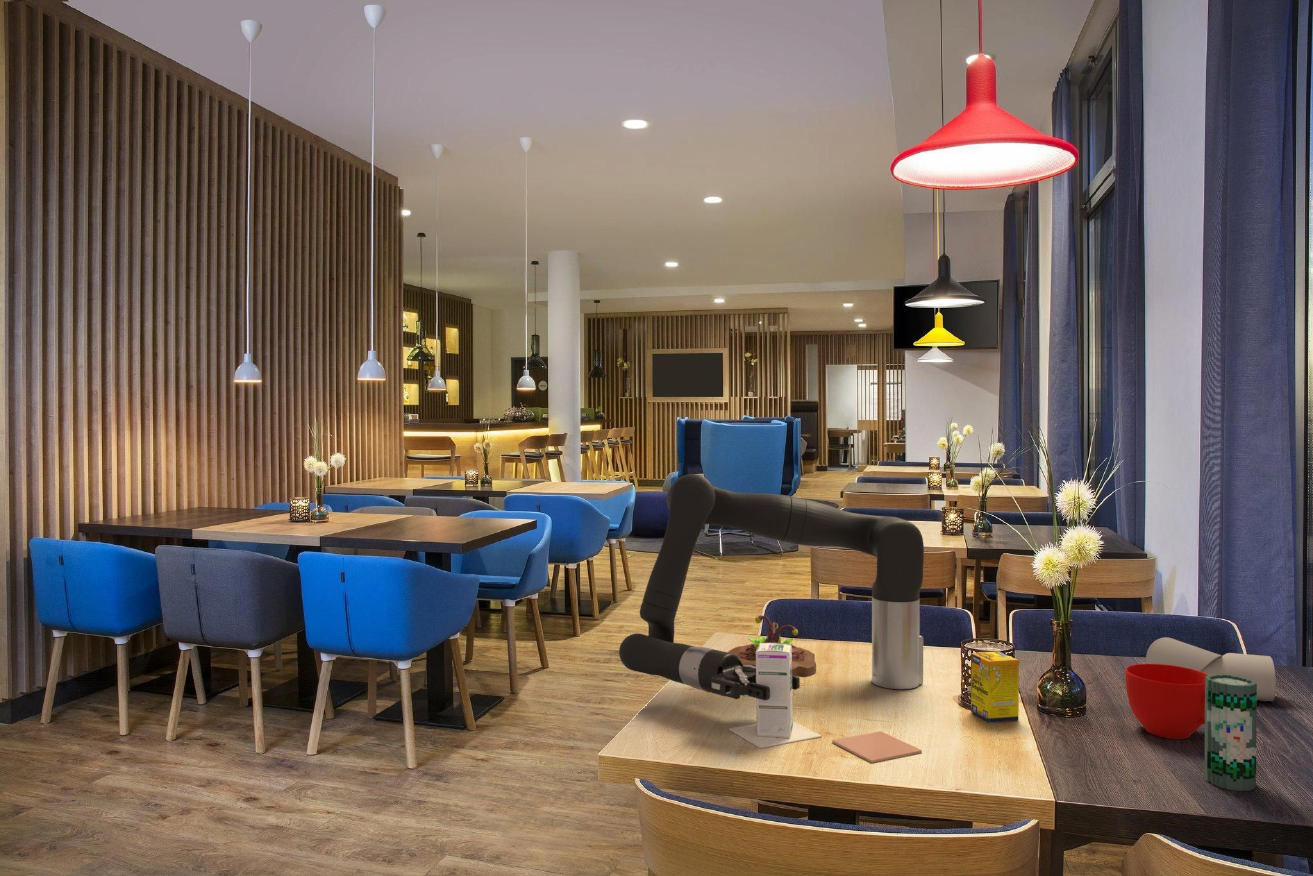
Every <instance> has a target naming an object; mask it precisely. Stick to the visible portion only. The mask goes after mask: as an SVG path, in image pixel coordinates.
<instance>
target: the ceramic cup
mask: <svg viewBox="0 0 1313 876" xmlns="http://www.w3.org/2000/svg"><path fill="white" fill-rule="evenodd" d="M1124 674H1125V688H1126V689H1125V690H1126V695H1127V698H1128V699H1127V700H1128V703H1129V706H1130V708H1131V711H1132V713H1133V715H1134V716H1135V718H1136V719H1137V720H1138V722H1139V723H1140V724H1141V725H1142V727H1144V728H1145V731H1146V732H1148V733H1149V734H1150V735H1154V736H1157V737H1161V738H1166V739H1172V740H1173V739H1174V740H1175V739H1176V740H1180V739H1181V740H1182V739H1187V738H1190V737H1191V735H1192V734H1194V733H1195V732H1196V731H1198V730H1199V729H1200V727H1201V726H1203V725H1205V676H1207V675H1208V674H1206V673H1203V672H1200V671H1197V670H1194V669H1190V668H1185V667H1179V666H1173V665H1164V664H1147V663H1137V664H1132V665H1129V666H1127V667H1126V668H1125V673H1124Z"/></svg>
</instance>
